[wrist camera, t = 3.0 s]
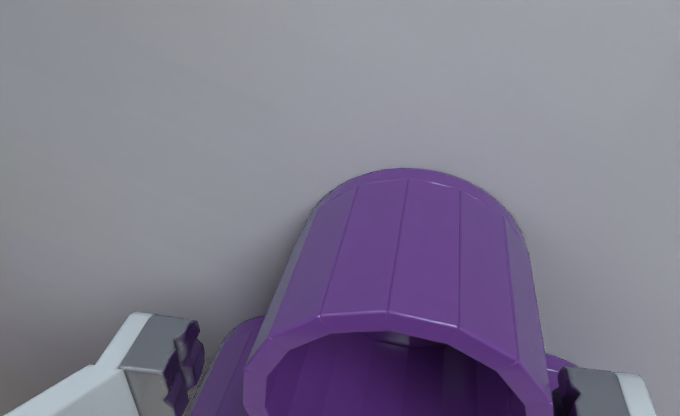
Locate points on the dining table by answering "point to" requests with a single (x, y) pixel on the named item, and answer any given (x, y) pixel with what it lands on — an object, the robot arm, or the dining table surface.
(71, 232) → the dining table surface
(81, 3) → the dining table surface
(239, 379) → the purple cup
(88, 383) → the robot arm
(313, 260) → the purple short cylinder
